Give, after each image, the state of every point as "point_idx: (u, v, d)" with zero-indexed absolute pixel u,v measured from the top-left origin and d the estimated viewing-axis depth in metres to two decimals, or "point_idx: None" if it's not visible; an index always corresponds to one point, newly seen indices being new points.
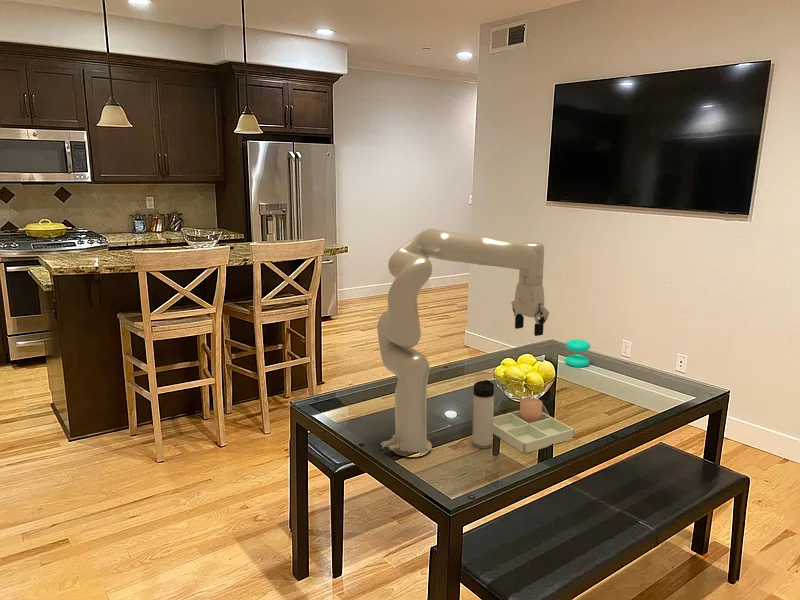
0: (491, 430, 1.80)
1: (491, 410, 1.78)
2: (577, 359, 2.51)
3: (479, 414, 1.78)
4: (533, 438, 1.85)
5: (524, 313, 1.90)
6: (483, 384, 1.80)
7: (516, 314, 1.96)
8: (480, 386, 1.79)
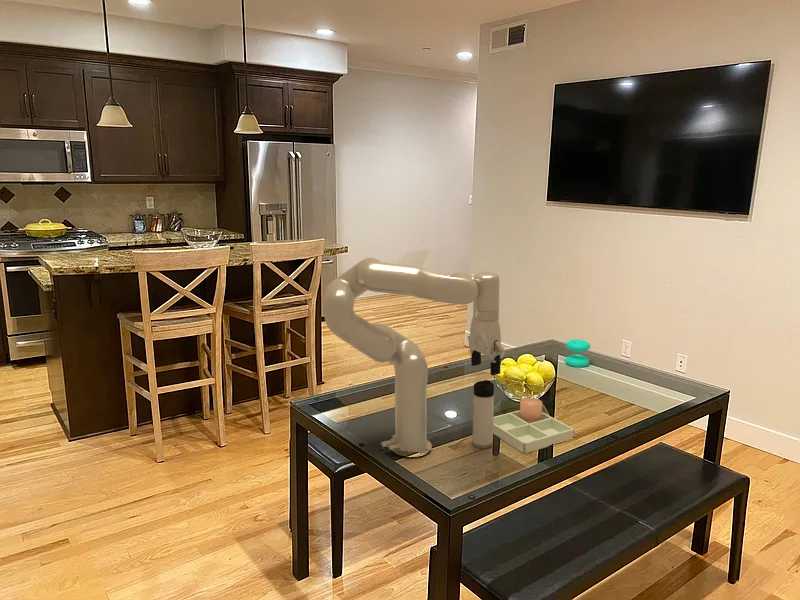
0: (491, 430, 1.80)
1: (491, 410, 1.78)
2: (577, 359, 2.51)
3: (479, 414, 1.78)
4: (533, 438, 1.85)
5: (479, 350, 1.74)
6: (483, 384, 1.80)
7: (472, 350, 1.80)
8: (480, 386, 1.79)
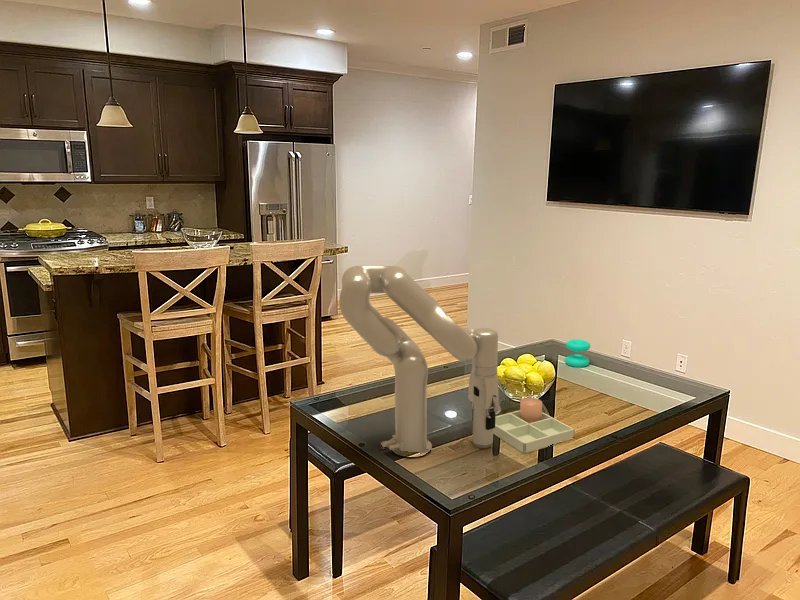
0: (491, 430, 1.80)
1: (491, 410, 1.79)
2: (577, 359, 2.51)
3: (479, 414, 1.78)
4: (533, 438, 1.85)
5: None
6: None
7: None
8: None
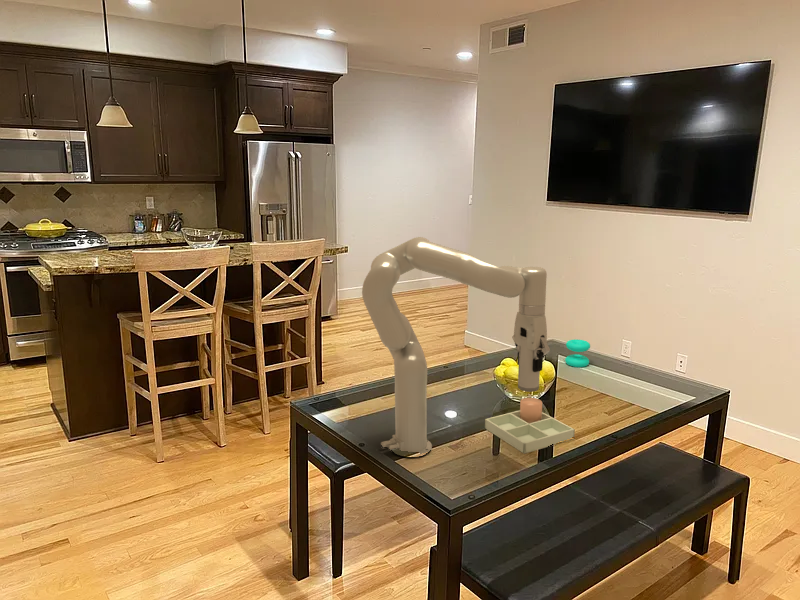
0: (538, 373, 1.75)
1: (538, 351, 1.73)
2: (577, 359, 2.51)
3: (526, 356, 1.73)
4: (533, 438, 1.85)
5: None
6: None
7: (518, 348, 1.78)
8: None
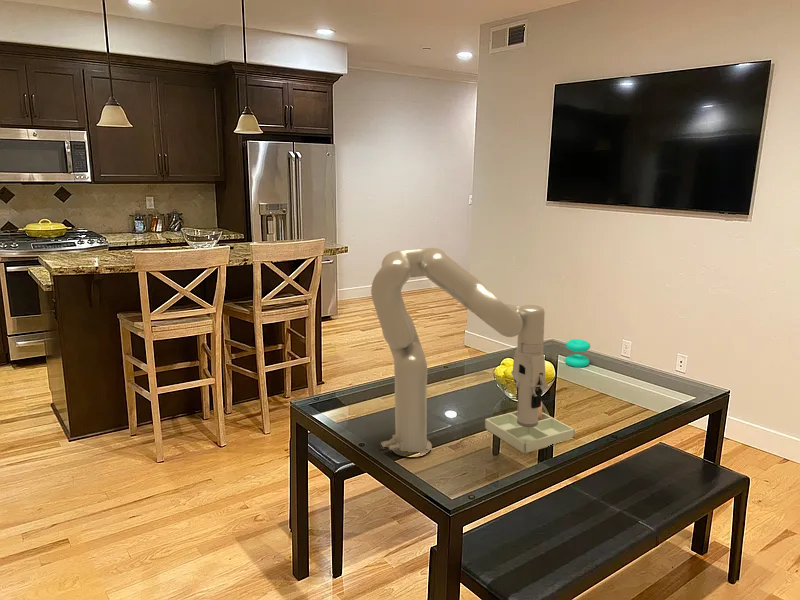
0: (537, 409, 1.77)
1: (537, 388, 1.76)
2: (577, 359, 2.51)
3: (525, 392, 1.75)
4: (533, 438, 1.85)
5: None
6: None
7: (517, 384, 1.80)
8: None
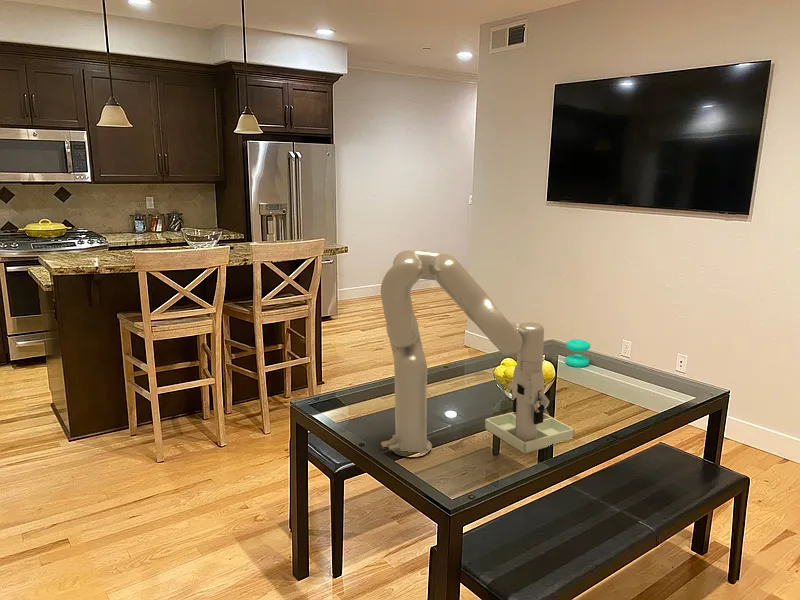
0: (535, 428, 1.79)
1: None
2: (577, 359, 2.51)
3: (523, 412, 1.77)
4: None
5: None
6: None
7: (514, 397, 1.83)
8: None
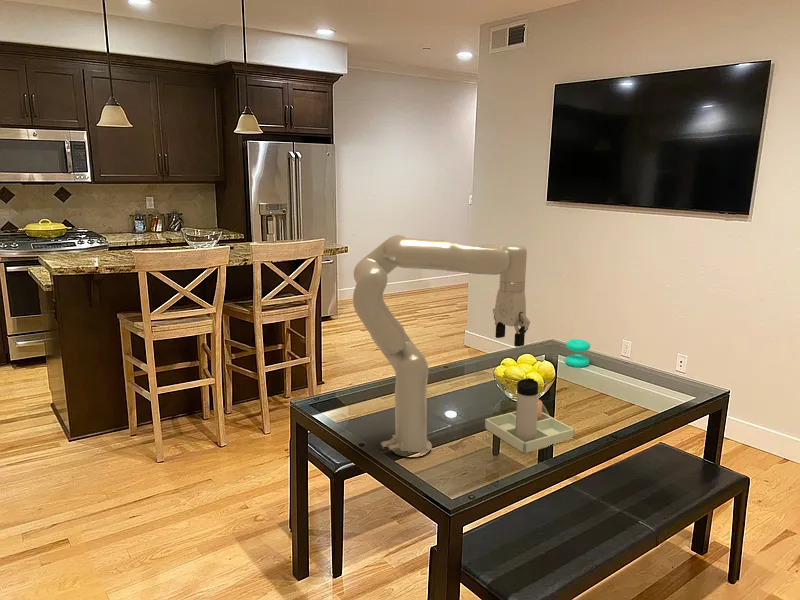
0: (535, 429, 1.79)
1: (535, 408, 1.77)
2: (577, 359, 2.51)
3: (523, 413, 1.77)
4: None
5: (504, 322, 1.77)
6: (527, 382, 1.79)
7: (497, 322, 1.83)
8: (524, 384, 1.78)
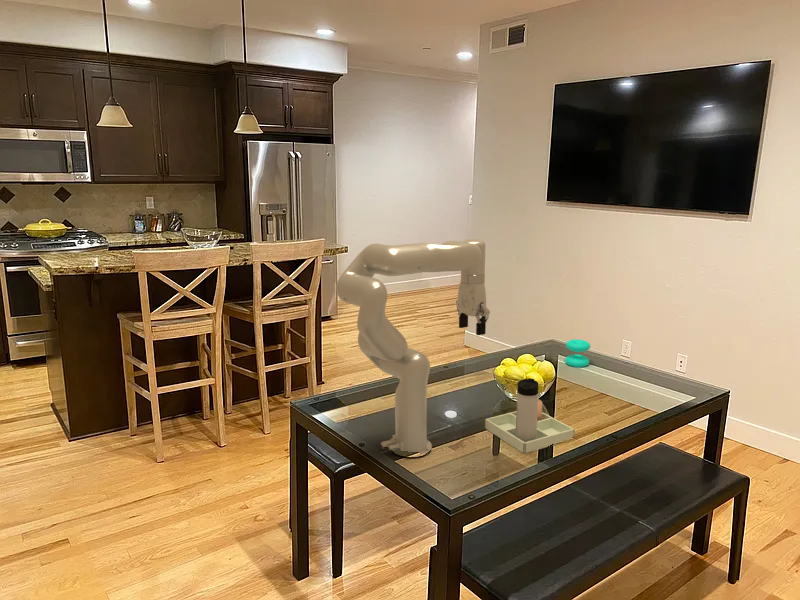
0: (535, 429, 1.79)
1: (535, 409, 1.77)
2: (577, 359, 2.51)
3: (523, 413, 1.77)
4: None
5: (466, 312, 1.87)
6: (527, 382, 1.79)
7: (460, 313, 1.93)
8: (524, 384, 1.78)
